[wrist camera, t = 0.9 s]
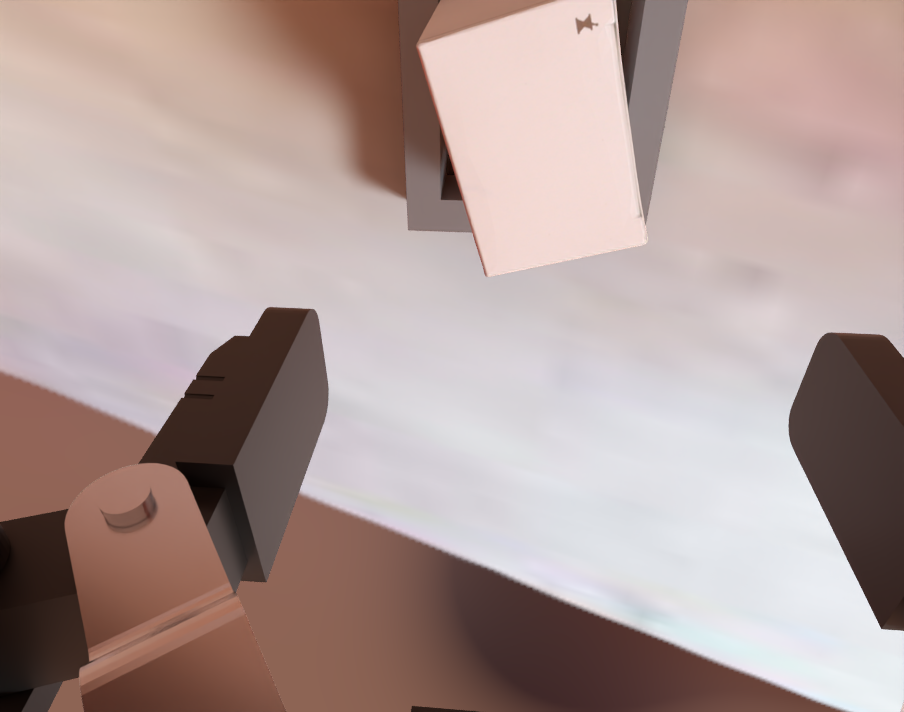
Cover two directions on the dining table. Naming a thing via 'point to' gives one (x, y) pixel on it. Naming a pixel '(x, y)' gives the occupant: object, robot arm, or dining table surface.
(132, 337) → the dining table surface
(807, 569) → the dining table surface
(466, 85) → the small box
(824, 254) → the dining table surface
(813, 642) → the dining table surface
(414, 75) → the frame
